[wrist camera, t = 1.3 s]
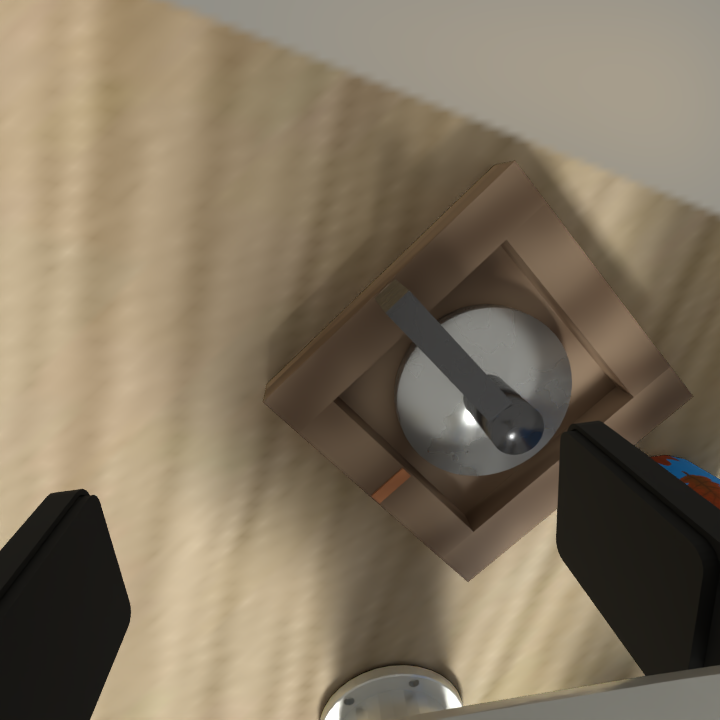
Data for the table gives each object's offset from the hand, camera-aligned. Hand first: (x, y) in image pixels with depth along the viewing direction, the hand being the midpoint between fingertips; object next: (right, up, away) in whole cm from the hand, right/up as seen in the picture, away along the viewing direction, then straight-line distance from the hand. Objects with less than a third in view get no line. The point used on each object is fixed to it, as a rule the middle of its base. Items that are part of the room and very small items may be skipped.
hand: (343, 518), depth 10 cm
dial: (+7, +3, +23) cm, 24 cm away
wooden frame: (+8, +2, +25) cm, 26 cm away
